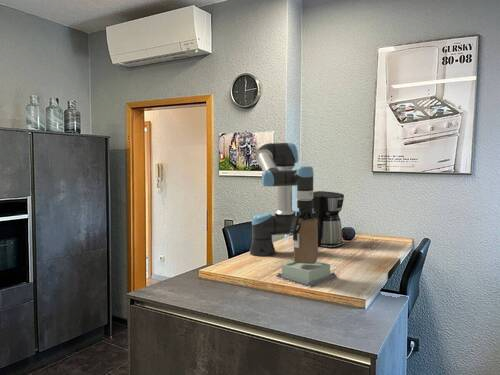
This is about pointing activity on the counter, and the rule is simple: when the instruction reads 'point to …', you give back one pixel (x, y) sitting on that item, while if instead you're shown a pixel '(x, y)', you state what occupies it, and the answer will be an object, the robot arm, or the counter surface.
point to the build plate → (306, 273)
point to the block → (307, 242)
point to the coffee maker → (329, 218)
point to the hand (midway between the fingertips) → (305, 244)
